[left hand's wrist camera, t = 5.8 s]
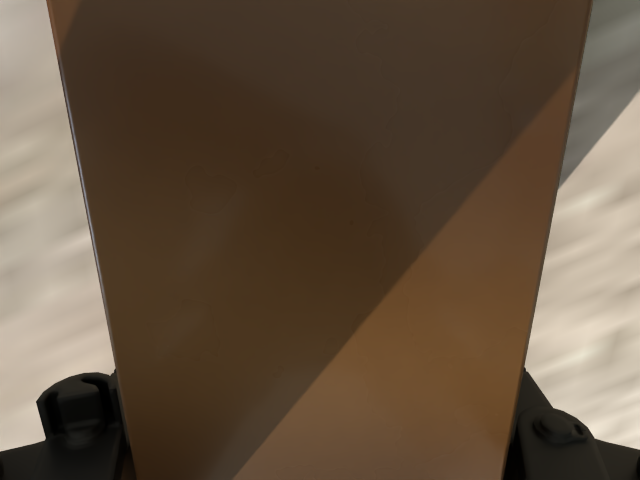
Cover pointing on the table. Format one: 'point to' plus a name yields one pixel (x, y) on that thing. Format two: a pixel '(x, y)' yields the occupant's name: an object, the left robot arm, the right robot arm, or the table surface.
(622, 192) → the table surface
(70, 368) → the table surface
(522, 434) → the left robot arm
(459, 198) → the post
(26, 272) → the table surface
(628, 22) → the table surface
